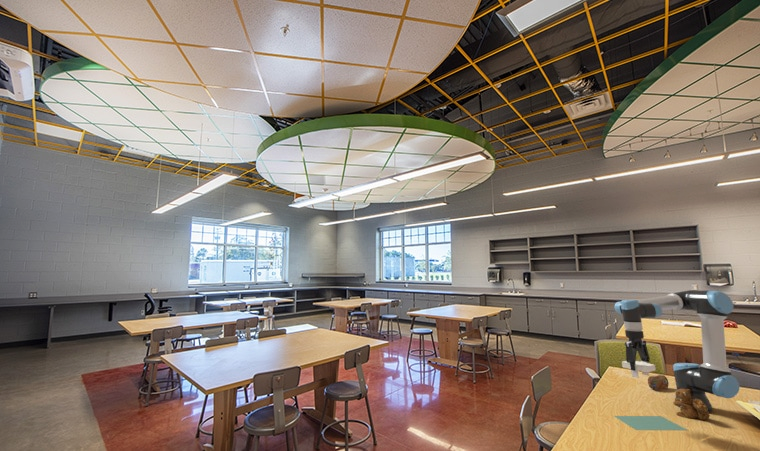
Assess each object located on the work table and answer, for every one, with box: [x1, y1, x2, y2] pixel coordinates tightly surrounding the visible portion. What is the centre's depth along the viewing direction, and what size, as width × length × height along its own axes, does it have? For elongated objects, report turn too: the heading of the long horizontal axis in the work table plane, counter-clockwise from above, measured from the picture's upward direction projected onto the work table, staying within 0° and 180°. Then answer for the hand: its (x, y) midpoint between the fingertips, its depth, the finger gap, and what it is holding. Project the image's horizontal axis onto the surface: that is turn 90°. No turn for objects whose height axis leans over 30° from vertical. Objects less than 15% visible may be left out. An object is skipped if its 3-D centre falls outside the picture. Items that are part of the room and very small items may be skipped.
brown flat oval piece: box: [647, 374, 669, 391], centre depth 207 cm, size 15×3×8 cm, turn 105°
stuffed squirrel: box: [672, 389, 711, 421], centre depth 166 cm, size 10×14×13 cm
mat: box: [613, 415, 688, 431], centre depth 159 cm, size 24×16×1 cm, turn 87°
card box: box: [621, 360, 656, 373], centre depth 164 cm, size 8×3×11 cm
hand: (640, 375), depth 163 cm, fingers closed on card box, 8 cm apart
